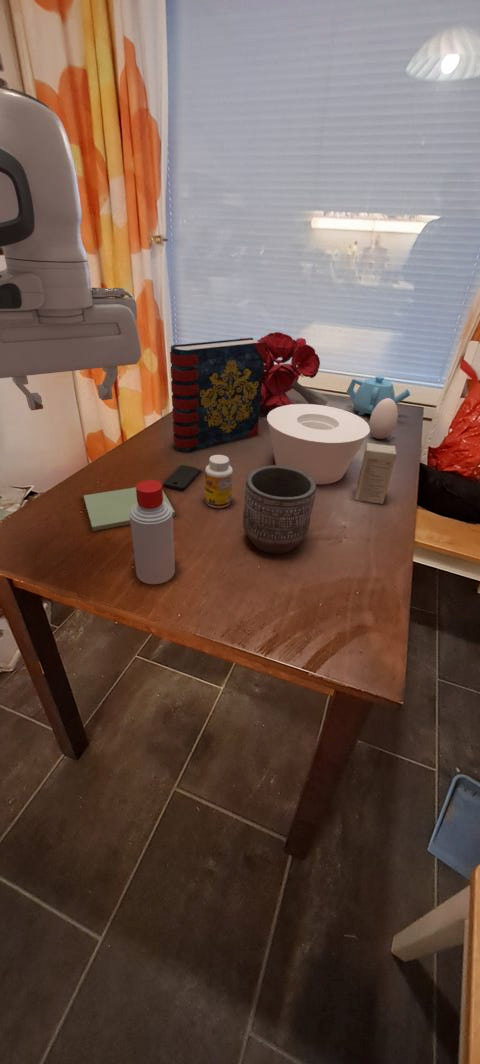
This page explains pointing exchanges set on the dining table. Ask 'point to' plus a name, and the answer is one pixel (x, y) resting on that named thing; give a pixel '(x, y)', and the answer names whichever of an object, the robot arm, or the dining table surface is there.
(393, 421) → the egg
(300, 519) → the planter
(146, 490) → the cap
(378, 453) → the cosmetic box
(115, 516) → the mat
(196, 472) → the black tag with hole
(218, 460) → the supplement bottle
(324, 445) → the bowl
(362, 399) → the teapot
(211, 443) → the book
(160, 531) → the bottle
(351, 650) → the dining table surface
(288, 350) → the bouquet
